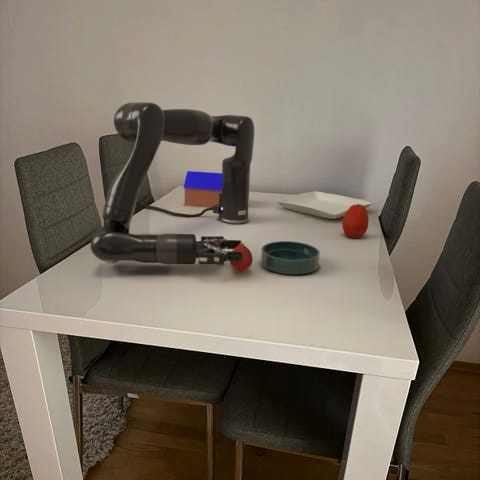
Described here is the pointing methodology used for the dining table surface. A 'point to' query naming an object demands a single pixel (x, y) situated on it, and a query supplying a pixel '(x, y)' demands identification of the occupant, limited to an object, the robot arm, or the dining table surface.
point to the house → (202, 188)
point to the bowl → (290, 257)
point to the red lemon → (246, 261)
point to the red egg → (355, 221)
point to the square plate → (321, 204)
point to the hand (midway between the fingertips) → (241, 250)
